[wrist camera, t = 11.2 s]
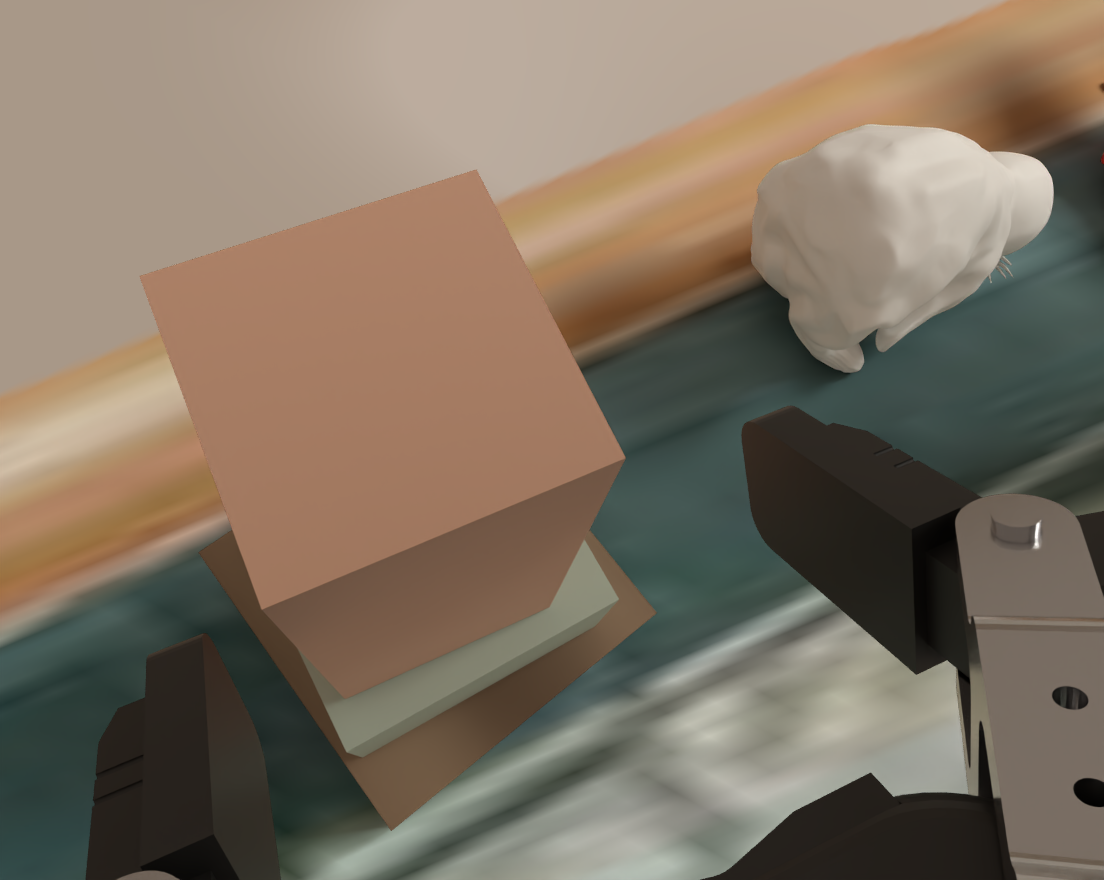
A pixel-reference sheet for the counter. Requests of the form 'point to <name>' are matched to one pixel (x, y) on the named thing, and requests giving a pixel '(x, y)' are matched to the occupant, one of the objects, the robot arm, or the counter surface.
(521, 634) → the grey-green top block
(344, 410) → the terracotta block
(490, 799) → the counter surface
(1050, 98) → the counter surface
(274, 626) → the walnut base block
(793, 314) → the white lumpy piece
